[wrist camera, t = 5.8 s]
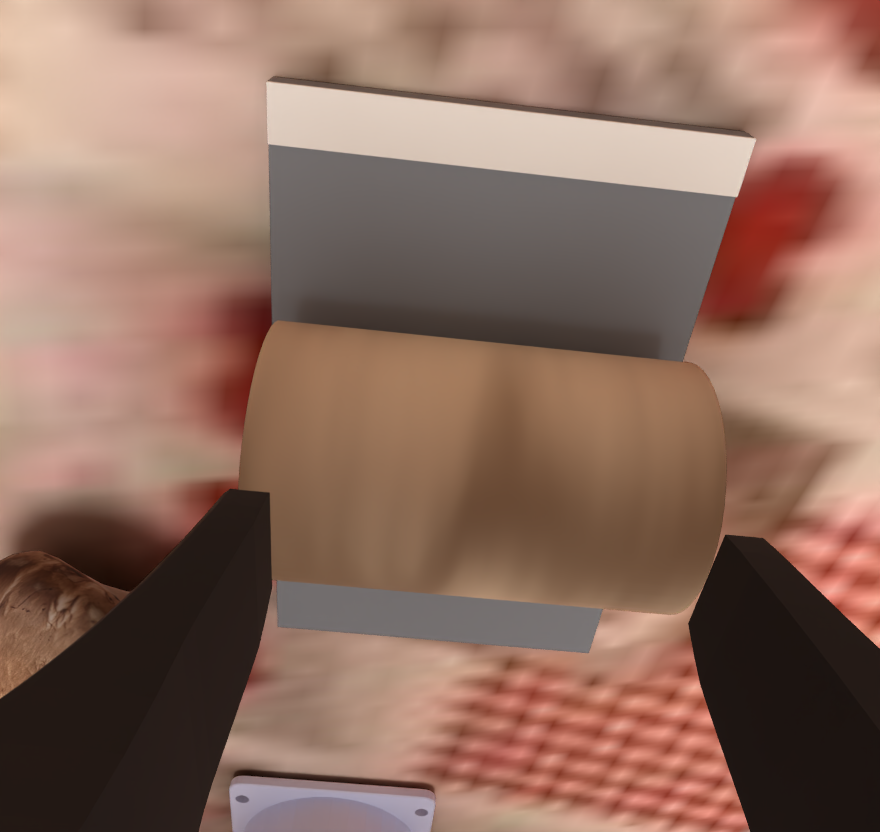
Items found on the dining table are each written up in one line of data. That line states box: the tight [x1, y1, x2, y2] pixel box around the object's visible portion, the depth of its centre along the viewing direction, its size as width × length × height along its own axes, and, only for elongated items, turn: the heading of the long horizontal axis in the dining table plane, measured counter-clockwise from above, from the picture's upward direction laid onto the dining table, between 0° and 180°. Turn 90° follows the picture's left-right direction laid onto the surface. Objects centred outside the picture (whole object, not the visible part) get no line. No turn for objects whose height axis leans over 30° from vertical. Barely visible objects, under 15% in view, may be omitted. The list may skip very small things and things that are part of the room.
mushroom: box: [0, 551, 131, 698], centre depth 22 cm, size 8×8×6 cm
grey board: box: [266, 77, 756, 653], centre depth 19 cm, size 16×10×1 cm, turn 174°
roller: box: [238, 320, 727, 615], centre depth 16 cm, size 6×9×6 cm, turn 84°
